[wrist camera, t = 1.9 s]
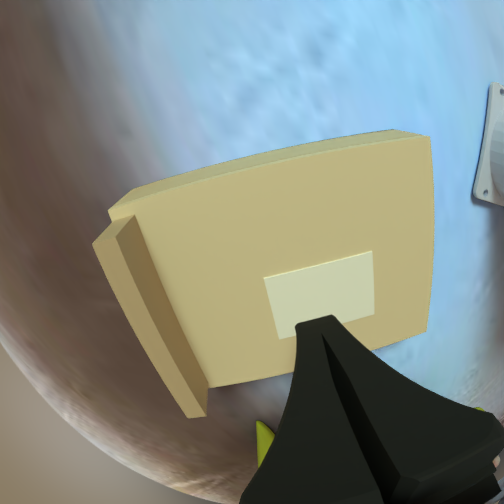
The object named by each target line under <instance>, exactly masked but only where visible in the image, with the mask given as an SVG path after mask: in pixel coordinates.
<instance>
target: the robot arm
mask: <svg viewBox="0 0 504 504" xmlns="http://www.w3.org/2000/svg"><path fill="white" fill-rule="evenodd" d="M500 91H501V94H500ZM484 190H485V192H484ZM483 192H484V194H483ZM473 195H474V197H476V198H478V199H481V200H484V201H487V202H491V203H494V204H497V205H500V206H503V207H504V86H502V85H501V84H499V83H497V82H491V84H490V87H489V99H488V108H487V117H486V125H485V131H484V138H483V144H482V150H481V155H480V160H479V165H478V170H477V175H476V179H475V184H474V188H473ZM295 331H296V358H295V367H294V373H293V378H292V383H291V388H290V392H289V396H288V400H287V403H286V407H285V410H284V413H283V416H282V419H281V421H280V424H279V427H278V429H277V432H276V434H275V437H274V439H273V441H272V443H271V445H270V447H269V449H268V451H267V453H266V455H265V457H264V459H263V461H262V463H261V465H260V467H259V468H258V470H257V472H256V473H255V475H254V477H253V478H252V480H251V481H250V483H249V484H248V486H247V487H246V489H245V490H244V492H243V493H242V495H241V498H240V502H239V504H495V503H496V502H498V501H499V500H500V501H499V502H498V504H504V478H502V479H501V480H499V481H498V482H497V480H496V478H495V476H494V474H493V473H494V472H495V471H496V467H495V465H494V463H493V460H494V459H495V458H496V457H497V456H498V454H499V453H500V452H501V451H502V449H503V448H504V428H503V426H502V425H501V423H500V422H499V421H498V420H497V419H496V417H495V416H494V415H493V413H489V412H486V411H482V410H478V409H475V408H471V407H468V406H465V405H462V404H460V403H457V402H454V401H452V400H449V399H447V398H445V397H443V396H441V395H438V394H436V393H434V392H432V391H430V390H428V389H426V388H424V387H422V386H420V385H419V384H417V383H415V382H413V381H412V380H410V379H408V378H407V377H405V376H404V375H402V374H400V373H399V372H397V371H396V370H394V369H393V368H392V367H390V366H389V365H387V364H386V363H385V362H384V361H382V360H381V359H380V358H378V357H377V356H376V355H375V354H373V353H372V352H371V351H370V350H369V349H368V348H366V347H365V346H364V345H363V344H362V343H361V342H360V341H358V340H357V339H356V338H355V337H354V336H353V335H352V334H351V333H350V332H349V331H348V330H347V329H346V328H345V327H344V326H343V325H342V324H341V323H340V321H339V320H338V319H337V318H336V317H335V316H334V315H332V314H331V315H327V316H323V317H320V318H316V319H312V320H308V321H304V322H300V323H297V324H296V325H295Z"/></svg>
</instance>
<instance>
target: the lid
mask: <svg viewBox="0 0 504 504" xmlns="http://www.w3.org/2000/svg"><path fill="white" fill-rule="evenodd" d="M108 212H109V215H110V218H111V220H112V223H111V224H110V225H109V226H108V227H107V228H106V230H105V231H104V232H103V233H102V234H101V235H100V236H99V237H98V238H97V239H96V240H95V241H94V242H93V243H92V245H93V248H94V250H95V252H96V255H97V257H98V259H99V261H100V264H101V266H102V268H103V270H104V272H105V275H106V277H107V279H108V281H109V283H110V285H111V287H112V289H113V291H114V293H115V295H116V297H117V299H118V301H119V303H120V305H121V307H122V309H123V311H124V313H125V315H126V317H127V319H128V321H129V323H130V324H131V326H132V328H133V330H134V332H135V334H136V335H137V337H138V339H139V341H140V343H141V344H142V346H143V348H144V350H145V351H146V353H147V355H148V356H149V358H150V360H151V362H152V363H153V365H154V367H155V368H156V370H157V371H158V373H159V375H160V376H161V378H162V380H163V381H164V383H165V384H166V386H167V387H168V389H169V391H170V392H171V394H172V395H173V397H174V398H175V400H176V401H177V403H178V404H179V406H180V407H181V409H182V410H183V412H184V413H185V415H186V416H187V417H188V418H195V417H203V416H206V412H207V393H208V388H213V387H219V386H225V385H231V384H237V383H242V382H248V381H253V380H258V379H263V378H268V377H272V376H277V375H282V374H286V373H290V372H294V367H295V358H296V331H295V325H296V324H297V323H300V322H304V321H308V320H312V319H316V318H320V317H323V316H327V315H331V314H332V315H334V316H335V317H336V318H337V319H338V320H339V321H340V323H341V324H342V325H343V326H344V327H345V328H346V329H347V330H348V331H349V332H350V333H351V334H352V335H353V336H354V337H355V338H356V339H357V340H358V341H360V342H361V343H362V344H363V345H364V346H365V347H366V348H368V349H369V350H370V351H371V350H374V349H378V348H381V347H384V346H387V345H390V344H393V343H396V342H399V341H401V340H404V339H407V338H410V337H413V336H415V335H418V334H421V333H423V332H426V330H427V322H428V315H429V306H430V297H431V286H432V273H433V256H434V183H433V166H432V153H431V143H430V137H429V136H425V135H422V136H414V137H407V138H399V139H392V140H385V141H379V142H372V143H366V144H360V145H354V146H348V147H343V148H337V149H332V150H326V151H321V152H316V153H311V154H306V155H301V156H296V157H292V158H287V159H282V160H278V161H273V162H269V163H265V164H260V165H256V166H252V167H248V168H244V169H240V170H236V171H232V172H228V173H224V174H220V175H216V176H212V177H209V178H205V179H201V180H198V181H194V182H191V183H187V184H184V185H180V186H177V187H173V188H170V189H166V190H163V191H160V192H157V193H153V194H150V195H147V196H144V197H140V198H137V199H134V200H131V201H128V202H125V203H122V204H119V205H116V206H113V207H111V208H110V209H109V210H108Z"/></svg>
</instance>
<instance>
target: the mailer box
mask: <svg viewBox="0 0 504 504" xmlns="http://www.w3.org/2000/svg"><path fill="white" fill-rule="evenodd" d="M414 136H422V135H420V134H415V133H410V132H405V131H400V130H394V129H391V130H384V131H377V132H370V133H363V134H357V135H350V136H344V137H338V138H333V139H327V140H322V141H316V142H311V143H306V144H301V145H296V146H291V147H286V148H282V149H277V150H273V151H268V152H264V153H259V154H255V155H251V156H247V157H243V158H239V159H235V160H231V161H227V162H223V163H219V164H215V165H212V166H208V167H204V168H201V169H197V170H193V171H190V172H186V173H183V174H180V175H176V176H173V177H169V178H166V179H163V180H160V181H156V182H153V183H150V184H147V185H144V186H141V187H138V188H135V189H132V190H131V191H130V192H129V193H127V194H126V195H125V196H124V197H123V198H122V199H120V200H119V201H118V202H117V203H116V204H115V205H113V206H116V205H119V204H122V203H125V202H128V201H131V200H134V199H137V198H140V197H144V196H147V195H150V194H153V193H157V192H160V191H163V190H166V189H170V188H173V187H177V186H180V185H184V184H187V183H191V182H194V181H198V180H201V179H205V178H209V177H212V176H216V175H220V174H224V173H228V172H232V171H236V170H240V169H244V168H248V167H252V166H256V165H260V164H265V163H269V162H273V161H278V160H282V159H287V158H292V157H296V156H301V155H306V154H311V153H316V152H321V151H326V150H332V149H337V148H343V147H348V146H354V145H360V144H366V143H372V142H379V141H385V140H392V139H399V138H407V137H414Z"/></svg>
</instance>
